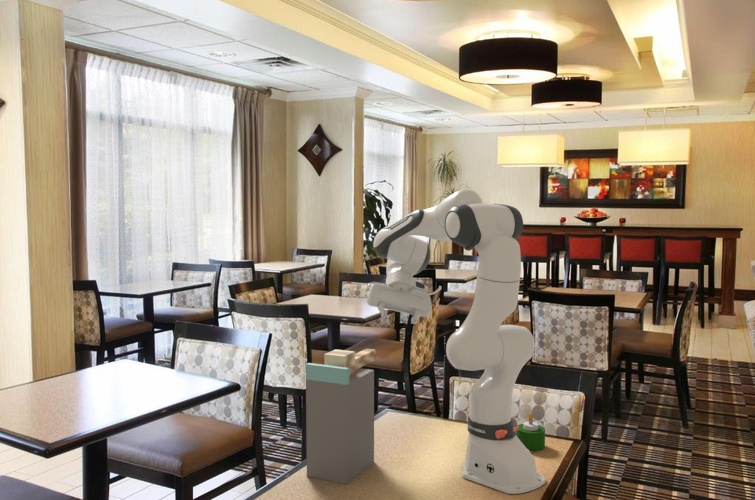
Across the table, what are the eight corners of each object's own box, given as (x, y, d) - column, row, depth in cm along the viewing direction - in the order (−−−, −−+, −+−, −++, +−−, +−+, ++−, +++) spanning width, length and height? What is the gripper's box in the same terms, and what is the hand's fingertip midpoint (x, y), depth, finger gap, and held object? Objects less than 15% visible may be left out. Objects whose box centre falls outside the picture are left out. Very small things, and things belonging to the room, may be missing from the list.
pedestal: (336, 454, 186) (335, 351, 184) (374, 461, 181) (373, 355, 178) (306, 476, 171) (305, 364, 169) (347, 484, 166) (346, 369, 164)
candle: (510, 443, 194) (510, 410, 194) (533, 439, 198) (533, 407, 197) (527, 453, 187) (527, 419, 186) (550, 449, 190) (551, 415, 189)
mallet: (361, 358, 192) (361, 338, 192) (380, 360, 189) (380, 340, 189) (324, 376, 172) (324, 354, 172) (344, 379, 170) (344, 356, 169)
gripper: (370, 273, 203) (368, 305, 193) (432, 287, 206) (434, 319, 196) (365, 287, 207) (363, 319, 197) (426, 300, 210) (427, 332, 200)
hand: (399, 319), depth 196 cm, fingers open, 8 cm apart
